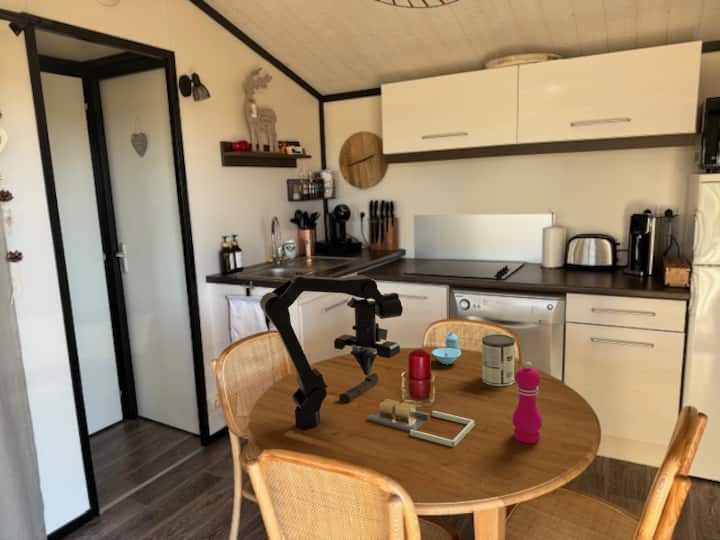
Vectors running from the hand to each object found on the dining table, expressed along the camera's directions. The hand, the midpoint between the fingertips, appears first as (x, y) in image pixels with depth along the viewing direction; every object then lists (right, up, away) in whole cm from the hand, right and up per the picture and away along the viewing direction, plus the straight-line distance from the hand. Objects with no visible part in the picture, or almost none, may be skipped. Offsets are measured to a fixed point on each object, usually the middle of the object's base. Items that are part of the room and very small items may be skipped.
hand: (367, 374), depth 145 cm
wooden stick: (-2, -10, +17) cm, 19 cm away
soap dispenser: (+30, -4, +44) cm, 53 cm away
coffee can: (+43, -7, +23) cm, 49 cm away
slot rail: (+9, -12, -4) cm, 16 cm away
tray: (+20, -13, -11) cm, 26 cm away
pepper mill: (+40, -13, -14) cm, 45 cm away
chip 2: (+10, -11, -5) cm, 16 cm away
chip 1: (+6, -11, -2) cm, 13 cm away
